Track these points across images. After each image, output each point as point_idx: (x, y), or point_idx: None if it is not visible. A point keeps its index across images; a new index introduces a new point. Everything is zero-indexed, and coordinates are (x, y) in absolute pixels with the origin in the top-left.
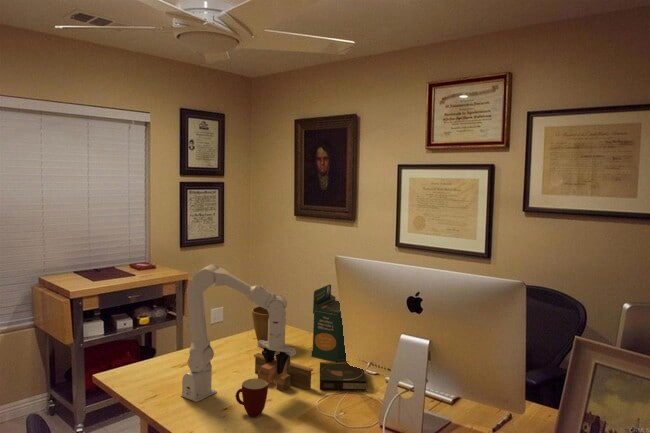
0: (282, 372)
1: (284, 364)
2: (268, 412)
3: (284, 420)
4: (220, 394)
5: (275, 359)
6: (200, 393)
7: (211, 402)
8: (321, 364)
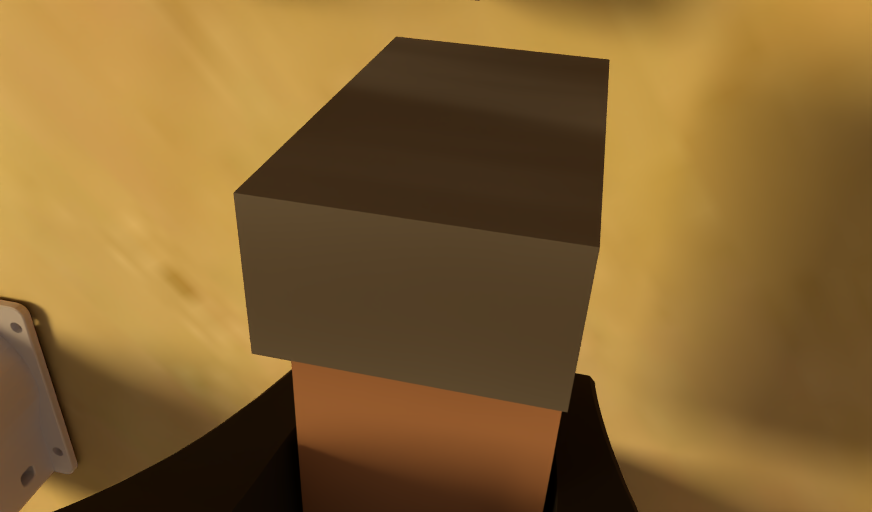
0: (593, 390)
1: (622, 504)
2: (614, 424)
3: (820, 487)
4: (77, 317)
5: (308, 427)
6: (21, 455)
7: (142, 434)
8: None
